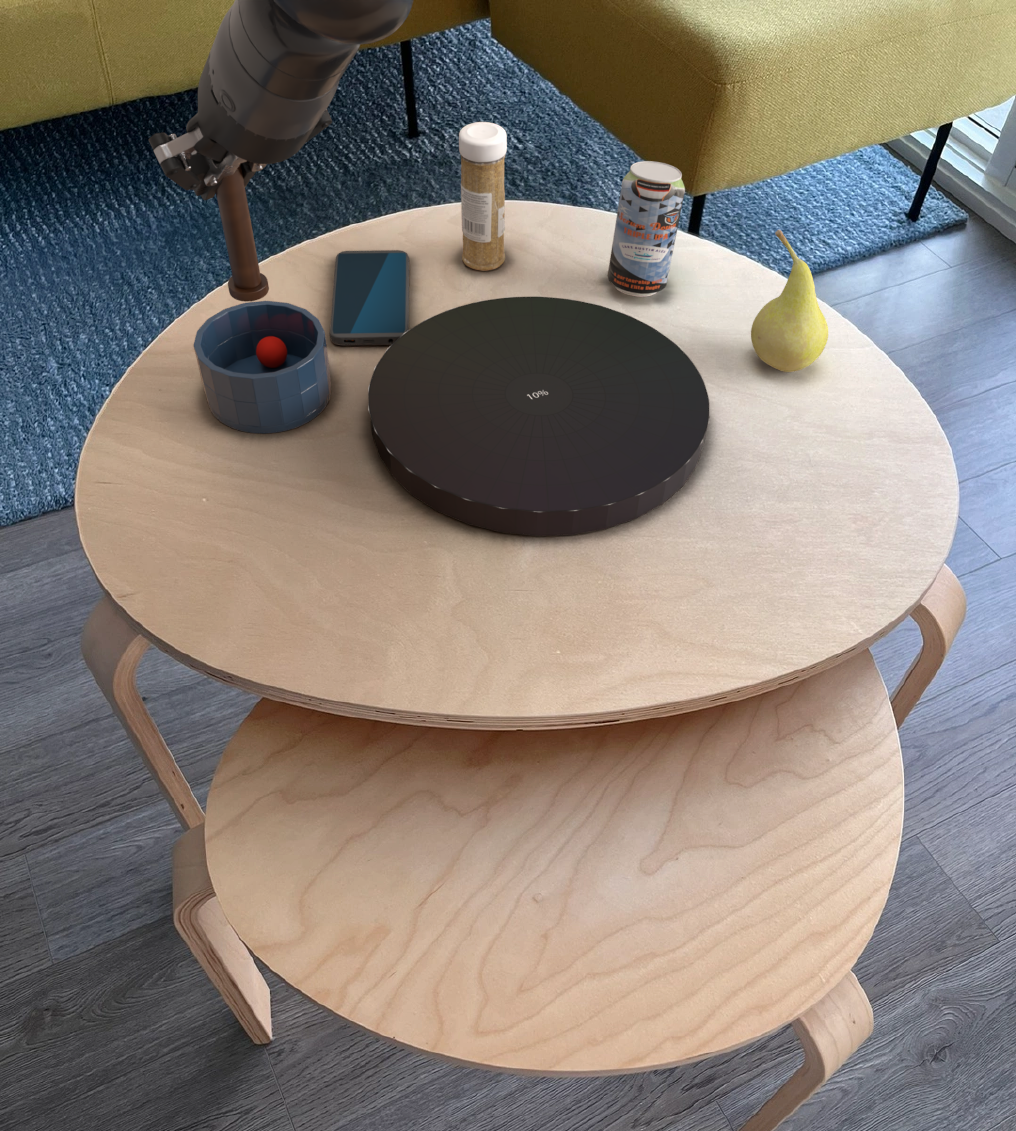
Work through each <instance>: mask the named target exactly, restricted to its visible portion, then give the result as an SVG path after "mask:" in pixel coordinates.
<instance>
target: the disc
mask: <svg viewBox="0 0 1016 1131" xmlns="http://www.w3.org/2000/svg"><path fill="white" fill-rule="evenodd" d="M367 410H368V413H369V416H370V425H371V435H372V438H373V441H374V445H375V448H376V452H377V454H378V457H379V458H380V460H381V462H382V463H383V464H384V466H385V467H386V470H387V471H388V472H389V474H390V476H391V477H392V478H393V479H394V480H395V481H396V482H398V484H399V485H400V486H402V487H403V488H404V489H405V490H406V491H407V492H408V493H409V494H410V495H411V496H413V497H414V498H415V499H417V500H419V501H421V502H422V503H423V504H425V505H426V506H428V507H430V508H431V509H433V510H435V511H436V512H438V513H441V514H443V515H445V516H447V517H450V518H452V519H455V520H457V521H459V522H462V523H464V524H466V525H471V526H474V527H479V528H482V529H486V530H489V531H494V532H497V533H504V534H514V535H520V536H521V535H523V536H533V537H548V536H549V537H550V536H551V537H552V536H573V535H579V534H585V533H590V532H596V531H602V530H606V529H609V528H613V527H615V526H618V525H621V524H624V523H627V522H631V521H633V520H636V519H638V518H640V517H642V516H643V515H646V514H648V513H649V512H651V511H653V510H655V509H657V508H658V507H660V506H662V505H663V504H664V503H666V501H668V500H669V499H670V498H671V497H673V495H675V494H676V493H677V492H678V491H680V490H681V489H682V488H683V487H684V486H685V484H686V483H687V481H688V480H689V478H690V477H691V475H692V474H693V473H694V471H695V470H696V468H697V467H698V463H699V460H700V458H701V455H702V452H703V449H704V446H705V440H706V436H707V431H708V425H709V424H710V396H709V393H708V391H707V387H706V384H705V380H704V378H703V376H702V375H701V373H700V372H699V370H698V367H696V365H695V363H694V361H693V360H692V359H691V358H690V357H689V355H687V354H686V353H685V352H684V351H683V350H682V349H681V348H680V346H678V344H676V342H674V341H673V340H672V339H670V338H669V337H667V336H666V335H665V334H663V333H661V332H660V331H659V330H657V328H655V327H654V326H651V325H650V324H647V323H645V322H643V321H642V320H639V319H637V318H635V317H633V316H631V315H629V314H627V313H624V312H621V311H618V310H616V309H612V308H609V307H607V306H603V305H600V304H597V303H591V302H585V301H582V300H577V299H572V298H562V297H552V296H551V297H550V296H540V295H538V296H537V295H536V296H534V295H533V296H506V297H500V298H492V299H487V300H486V299H483V300H478V301H474V302H471V303H467V304H463V305H459V306H456V307H452V308H449V309H446V310H444V311H442V312H440V313H437V314H435V315H433V316H431V317H427V318H426V319H424V320H423V321H421V322H420V323H418V324H416V325H415V326H412V327H411V328H409V330H408V331H407V332H405V333H404V334H403V335H402V336H401V337H400V338H399V339H397V340H396V341H395V342H394V343H393V344H392V345H389V347H387V349H386V350H385V351H384V353H383V354H382V356H381V358H379V360H378V362H377V363H376V365H375V366H374V368H373V372H372V375H371V378H370V381H369V385H368V389H367Z"/></svg>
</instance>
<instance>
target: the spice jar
mask: <svg viewBox="0 0 1016 1131" xmlns="http://www.w3.org/2000/svg"><path fill="white" fill-rule="evenodd" d="M507 141H508V138H507V131H506V130H505V129H504V128H503V127H502V126H500V125H499V124H497V123H493V122H488V121H476V122H472V123H469V124H467V125H465V126H463V127H462V128H461V129H460V131H459V132H458V151H459V155H460V159H461V160H460V171H461V172H460V173H461V174H460V175H461V180H460V202H461V203H460V204H461V233H462V254H461V259H462V262H463V263H464V265H465V266H467V267H468V268H469V269H473V270H476V271H492V270H496V269H498V268H499V267H500V266H502V264H504V262H505V260H506V253H505V229H506V224H505V223H506V221H505V220H506V214H505V212H506V211H505V210H506V196H505V195H506V194H505V192H506V191H505V159H506V155H507V150H508V148H507V146H508V144H507V143H508V142H507Z"/></svg>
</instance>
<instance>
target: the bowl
mask: <svg viewBox="0 0 1016 1131" xmlns="http://www.w3.org/2000/svg"><path fill="white" fill-rule="evenodd" d="M268 336H274V337H277V338H279V339H280V340H282V341H283V342H284V344H285V346H286V348H287V358H286V360H285V362H284V363H283V364H282V365H281V366H279V367H276V368H269V367H266V366H264V365H263V364H262V363H261V362H260V361H259V360H258V358H257V355H256V348H257V345H258V343H259V341H260V340H261V339H263V338H265V337H268ZM326 338H327V337H326V332H325V329H324V328H323V325H322V323H321V321H320V319H319V318H318V317H317V316H316V315H314V314H313V313H312V312H310V311H309V310H308V309H306V308H303V307H301V306H298V305H295V304H291V303H290V302H282V301H274V300H260V301H259V300H257V301H249V302H242V303H239V304H236V305H233V306H230V307H226V308H224V309H222V310H220V311H219V312H217V313H215V314H214V315H212V316H210V317H209V318H207V319H206V320H205V321H204V322H203V323H202V324H201V326H200V327H199V328H198V329H197V331H196V333H195V336H194V341H193V350H194V354H195V358H196V362H197V366H198V371H199V374H200V379H201V383H202V387H203V392H204V396H205V398H206V402H207V405H208V409H209V410H210V412H211V414H212V415H213V416H214V417H215V419H216V420H218V421H219V422H221V423H222V424H223V425H225V426H227V427H228V428H231V429H233V430H236V431H239V432H244V433H250V434H263V435H264V434H276V433H277V434H278V433H283V432H287V431H291V430H293V429H296V428H297V429H298V428H299V427H302V426H304V425H307V423H309V422H311V421H312V420H314V419H315V418H317V417H318V416H319V415H320V414H321V413H322V412H323V411H324V410H325V409H326V407H327V406H328V404H329V402H330V400H331V395H332V384H331V382H332V379H331V377H332V376H331V370H330V362H329V355H328V348H327V347H328V346H327V339H326Z"/></svg>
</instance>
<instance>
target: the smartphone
mask: <svg viewBox="0 0 1016 1131" xmlns="http://www.w3.org/2000/svg"><path fill="white" fill-rule="evenodd" d="M408 330H410V256H409V254H408V252H407V251H405V250H399V249H391V250H390V249H387V250H385V249H384V250H383V249H382V250H381V249H380V250H379V249H378V250H377V249H376V250H375V249H373V250H342V251H340V252H338V253H337V254H336V256H335V260H334V271H333V288H332V300H331V312H330V325H329V338H330V341H331V343H333V344H334V345H336V346H342V347H343V346H344V347H345V346H391V345H392V344H393V343H394V342H395V341H396V340H397V339H399V338H400V337H401V336H402V335H403V334H404V333H405V332H407V331H408Z"/></svg>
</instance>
